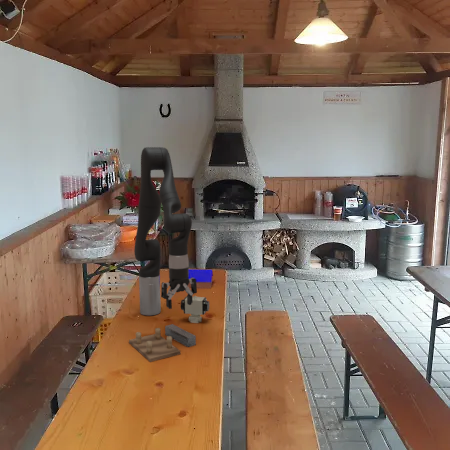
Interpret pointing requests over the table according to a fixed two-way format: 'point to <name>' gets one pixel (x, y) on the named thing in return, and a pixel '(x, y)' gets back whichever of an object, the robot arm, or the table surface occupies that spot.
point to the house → (201, 278)
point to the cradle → (154, 346)
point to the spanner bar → (180, 335)
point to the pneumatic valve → (195, 308)
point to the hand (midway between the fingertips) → (179, 306)
